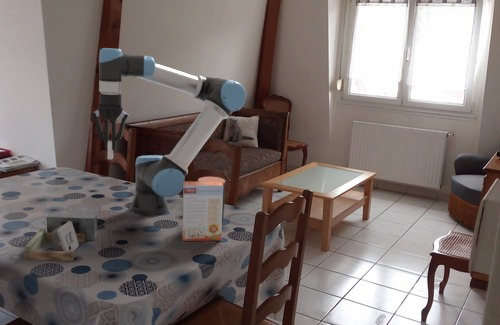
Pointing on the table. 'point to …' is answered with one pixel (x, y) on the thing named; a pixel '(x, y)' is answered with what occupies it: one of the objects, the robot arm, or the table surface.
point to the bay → (36, 254)
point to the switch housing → (74, 223)
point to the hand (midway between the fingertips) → (110, 158)
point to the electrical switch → (65, 238)
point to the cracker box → (202, 211)
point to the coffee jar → (215, 179)
